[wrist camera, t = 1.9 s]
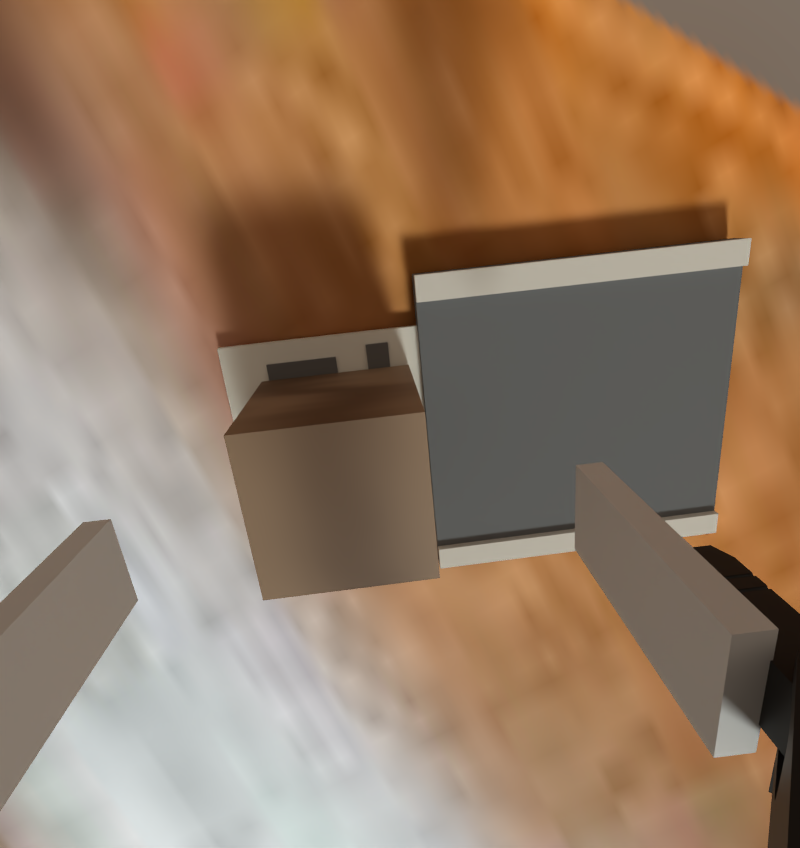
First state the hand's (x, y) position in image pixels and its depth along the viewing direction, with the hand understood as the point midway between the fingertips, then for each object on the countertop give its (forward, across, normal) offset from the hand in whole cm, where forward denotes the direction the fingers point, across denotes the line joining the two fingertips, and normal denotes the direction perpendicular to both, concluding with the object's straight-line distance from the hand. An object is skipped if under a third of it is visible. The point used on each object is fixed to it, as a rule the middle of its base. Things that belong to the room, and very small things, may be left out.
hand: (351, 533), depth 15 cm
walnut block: (+8, -1, 0) cm, 8 cm away
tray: (+8, +9, 0) cm, 13 cm away
